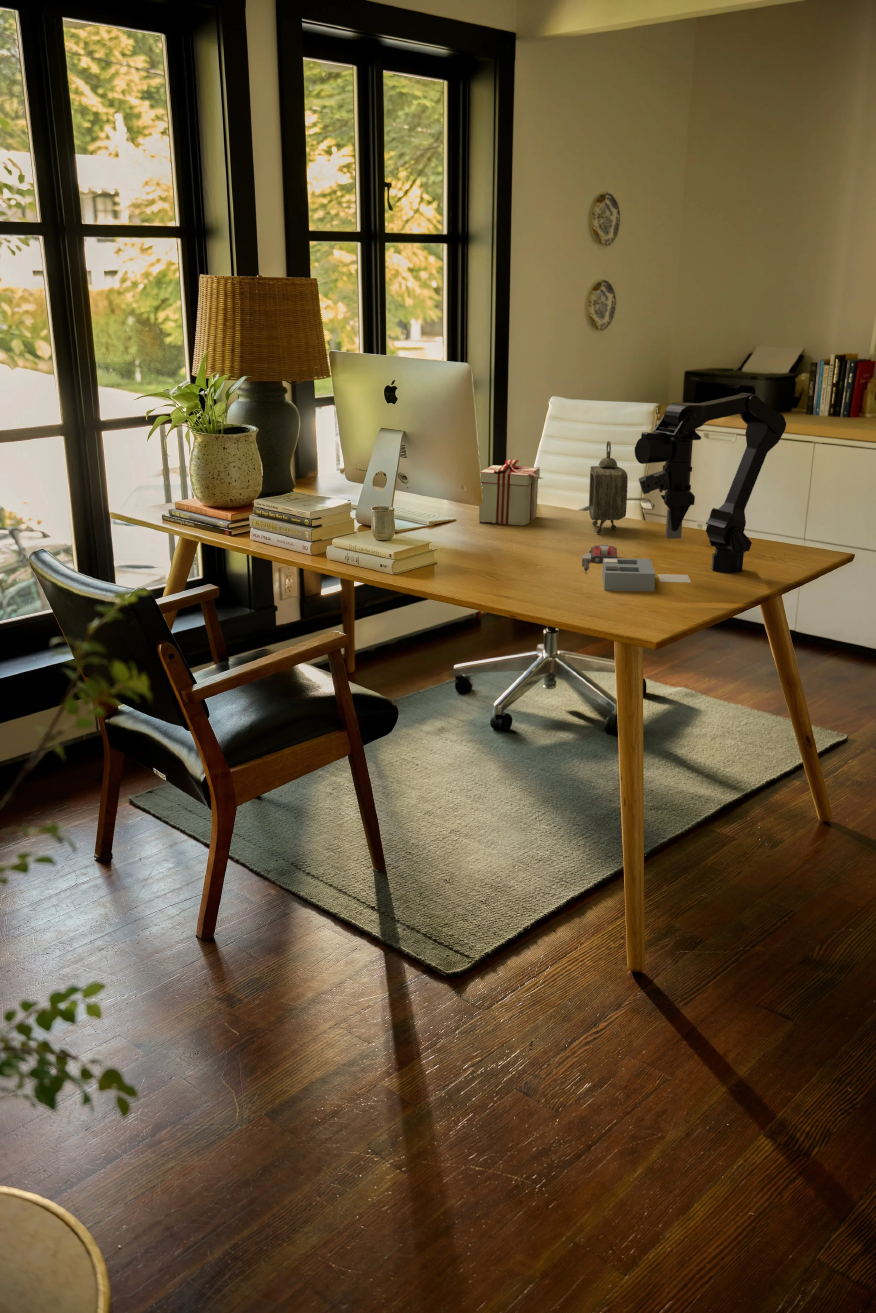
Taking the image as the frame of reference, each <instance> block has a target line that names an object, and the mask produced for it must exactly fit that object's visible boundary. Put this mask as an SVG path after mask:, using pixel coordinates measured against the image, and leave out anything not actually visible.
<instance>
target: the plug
mask: <svg viewBox="0 0 876 1313" xmlns="http://www.w3.org/2000/svg"><path fill="white" fill-rule="evenodd" d="M666 507H667V506H666ZM665 522H666V524H665V537H666V539H676V540H677V539H679V540H680V539H682V530H683V521H682V522H681V524H680V526H679V528H678V530H677V531H672V525H671V517H670V509H669V508H668V507H667V508H666V520H665Z"/></svg>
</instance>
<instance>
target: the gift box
mask: <svg viewBox="0 0 876 1313" xmlns="http://www.w3.org/2000/svg"><path fill="white" fill-rule="evenodd" d="M518 462H519V459H506V460H505V462H504V464H503V465H496V464H495V465H494V464H492V465H490V466H489V467H487V468H484V469H483V470H480V471H479V472H480V473H481V483H482V485H483V488H482V495H483V500H482V504H481V506H479V505H478V522H479V521H481V522H480V523H485V522H492V523H491V524H497V523H499V525H510V524H511V525H512V526H523V525H525V526H527V525H529V524H530V523H531V522H532V521H533V520H535V519H536V518H537V517H536V516H537V514H538V512H537V510H538V493H539V491H538V490H539V488H538V487H539V486H538V485H539V479H542V480H543V477H541V474H540V472H541V470H540V468H541V467H540V466H539V467H535V466H534V467H531V466H524V465H517V463H518ZM535 517H536V518H535ZM534 518H535V519H534ZM531 520H532V521H531ZM530 521H531V522H530ZM529 522H530V523H529ZM511 525H510V526H511Z"/></svg>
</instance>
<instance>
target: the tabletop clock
mask: <svg viewBox="0 0 876 1313" xmlns="http://www.w3.org/2000/svg"><path fill="white" fill-rule="evenodd" d="M611 453H612V445H611V441H610V440H608V441H607V442H606V452H605V454H606V457H603V458H601V460H599V463H598V465H592V466H590V470H589V471H590V472H589V491H588V492H589V495H588V513H589V517H590V519H591V521H592V523H591V525H592V526H593V527H597V526H598V524H599V526H598V528H596V530H595V533H596V534H597V535H600V534H601V533H602V532H603V531H602V527H603V526H604V523H605V522H607V521H610V524H611V525H610V529H611V531H615V530H616V529H617V525H615V523H614V521H620V520H622V519H623V518H626V515H627V504H628V484H629V483H628V472H627V471H626V470H625V469H623V468H621V467H620V466H618V462H617V460H616V459H615V458H612V457H611ZM598 521H600V523H598Z"/></svg>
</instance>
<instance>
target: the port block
mask: <svg viewBox="0 0 876 1313" xmlns="http://www.w3.org/2000/svg"><path fill="white" fill-rule="evenodd" d="M601 575H602V582H603V589H604V591H613V592H614V591H616V592H617V591H619V592H621V591H622V592H624V591H625V592H655V585H656V584H655V582H656V571H655V569H654V566H653V562H652V560H651V558H619V557H618V558H603V563H602V574H601Z"/></svg>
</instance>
